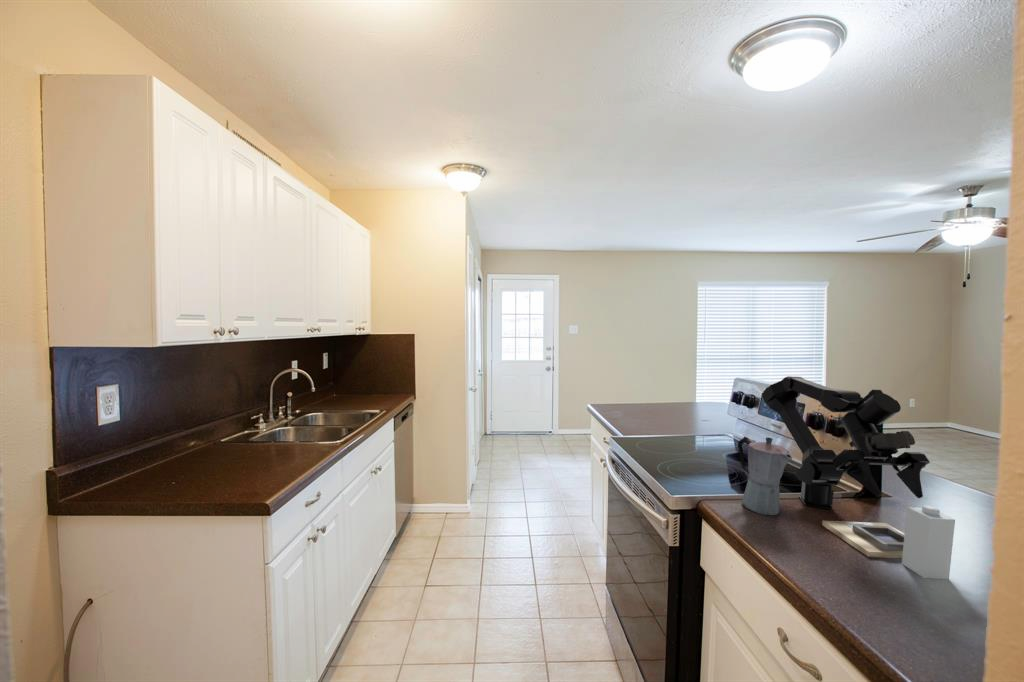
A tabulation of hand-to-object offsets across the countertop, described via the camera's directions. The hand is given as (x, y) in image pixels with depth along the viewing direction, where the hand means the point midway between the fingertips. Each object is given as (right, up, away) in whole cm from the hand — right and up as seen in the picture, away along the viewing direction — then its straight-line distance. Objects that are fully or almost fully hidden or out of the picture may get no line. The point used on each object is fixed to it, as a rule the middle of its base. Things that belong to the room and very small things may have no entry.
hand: (899, 496), depth 94 cm
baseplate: (0, -13, +5) cm, 14 cm away
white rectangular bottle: (-1, -13, -6) cm, 15 cm away
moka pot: (-19, -11, +21) cm, 31 cm away
